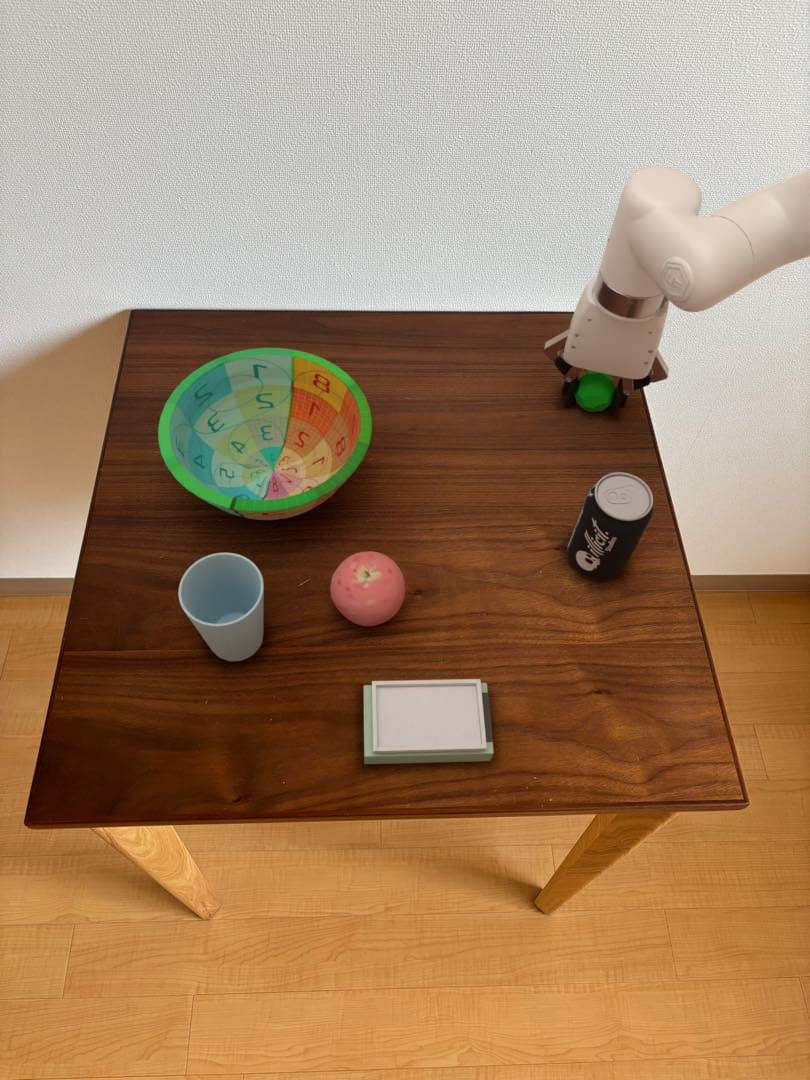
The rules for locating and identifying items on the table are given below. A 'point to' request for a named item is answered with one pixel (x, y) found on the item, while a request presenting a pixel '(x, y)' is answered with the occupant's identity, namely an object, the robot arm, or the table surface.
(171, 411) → the bowl
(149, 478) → the table surface
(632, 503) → the beverage can
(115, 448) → the table surface
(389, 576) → the apple
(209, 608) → the cup
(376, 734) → the scale
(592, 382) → the polyhedron
